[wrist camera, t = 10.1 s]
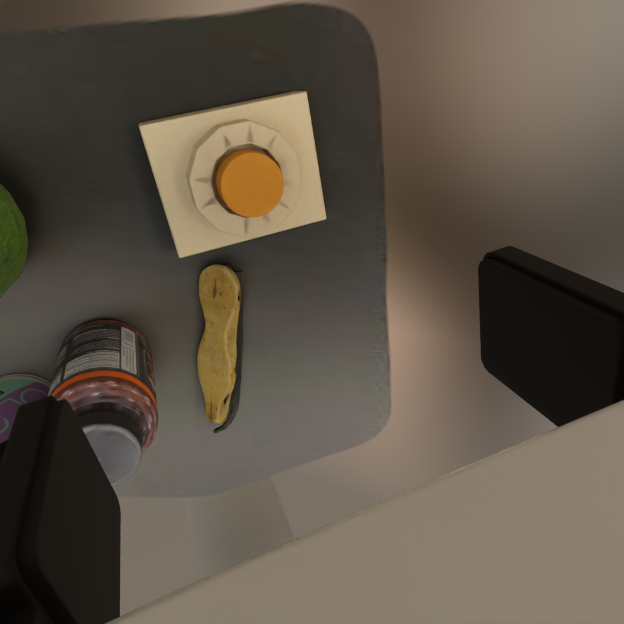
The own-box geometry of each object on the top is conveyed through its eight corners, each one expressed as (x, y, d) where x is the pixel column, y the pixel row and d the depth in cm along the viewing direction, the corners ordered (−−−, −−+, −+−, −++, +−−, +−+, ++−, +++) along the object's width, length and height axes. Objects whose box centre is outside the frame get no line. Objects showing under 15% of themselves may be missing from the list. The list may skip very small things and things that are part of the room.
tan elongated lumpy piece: (218, 411, 41) (192, 428, 39) (227, 252, 36) (198, 259, 34) (251, 427, 40) (227, 445, 37) (265, 263, 35) (237, 271, 32)
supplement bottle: (149, 391, 37) (158, 502, 27) (58, 393, 35) (32, 514, 25) (154, 317, 35) (165, 407, 25) (58, 314, 33) (29, 412, 23)
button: (281, 203, 31) (289, 209, 29) (224, 217, 30) (229, 224, 29) (269, 142, 29) (277, 145, 28) (208, 156, 28) (213, 160, 27)
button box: (316, 212, 36) (336, 225, 32) (176, 249, 33) (182, 267, 30) (296, 90, 32) (316, 91, 29) (137, 123, 30) (139, 128, 26)
